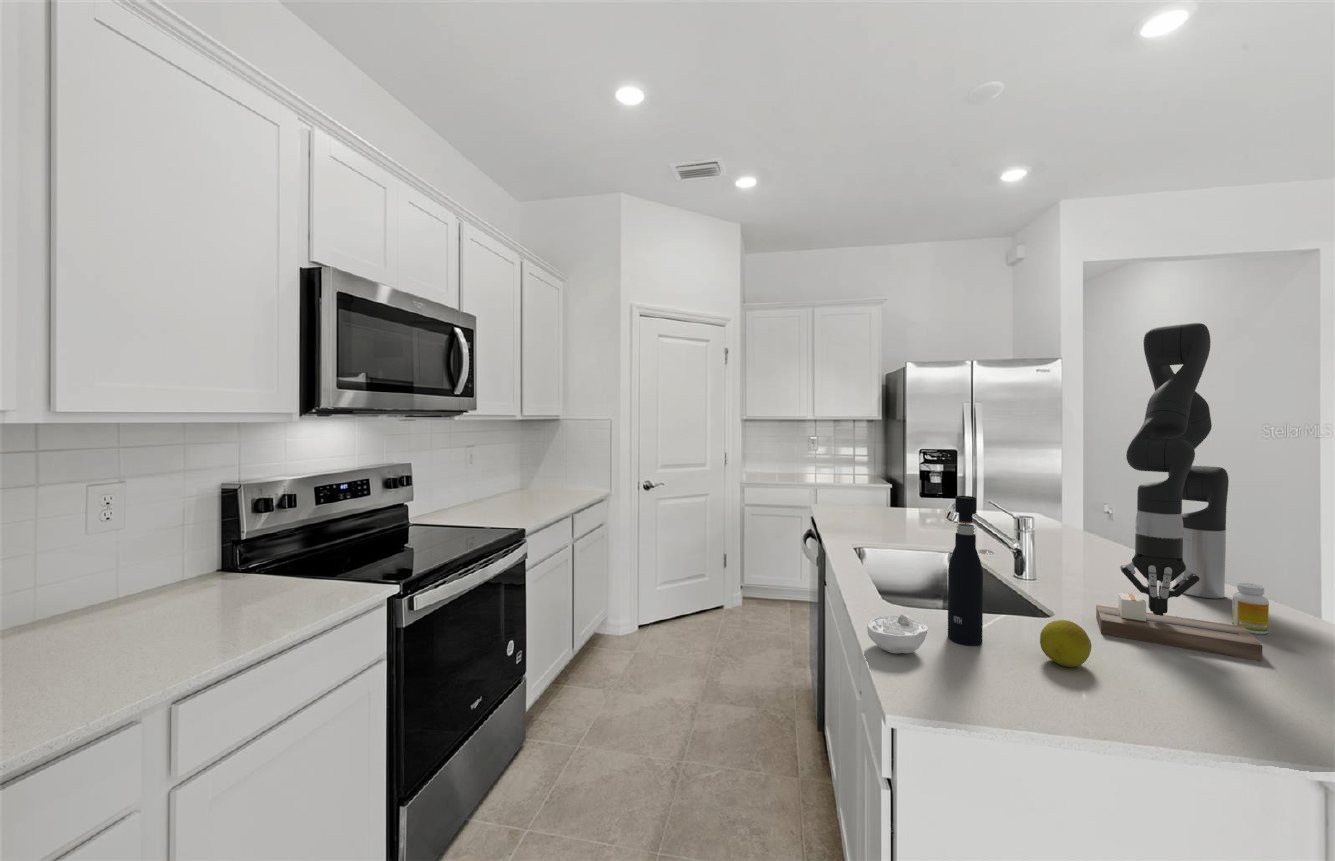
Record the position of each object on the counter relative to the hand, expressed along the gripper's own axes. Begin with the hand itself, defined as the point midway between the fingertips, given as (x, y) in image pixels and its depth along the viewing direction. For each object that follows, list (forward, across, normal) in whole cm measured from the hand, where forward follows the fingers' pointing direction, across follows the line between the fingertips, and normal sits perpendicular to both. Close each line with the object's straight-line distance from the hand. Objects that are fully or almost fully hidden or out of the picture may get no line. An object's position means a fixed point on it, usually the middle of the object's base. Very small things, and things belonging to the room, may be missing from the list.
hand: (1157, 614), depth 116 cm
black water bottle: (+5, +34, +24) cm, 42 cm away
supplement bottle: (+5, -17, -14) cm, 23 cm away
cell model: (+5, +45, +37) cm, 59 cm away
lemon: (+5, +17, +26) cm, 32 cm away
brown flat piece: (+4, -2, 0) cm, 5 cm away
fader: (+2, +4, 0) cm, 4 cm away
